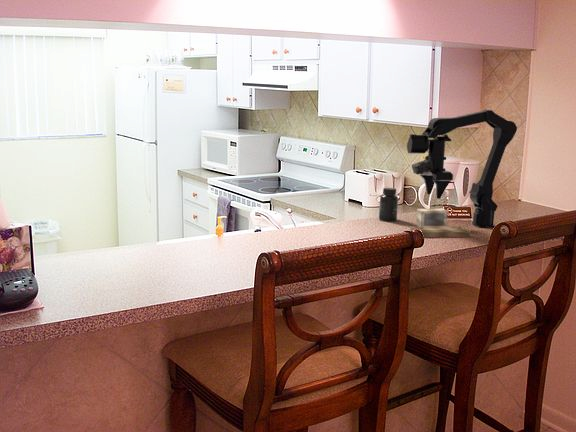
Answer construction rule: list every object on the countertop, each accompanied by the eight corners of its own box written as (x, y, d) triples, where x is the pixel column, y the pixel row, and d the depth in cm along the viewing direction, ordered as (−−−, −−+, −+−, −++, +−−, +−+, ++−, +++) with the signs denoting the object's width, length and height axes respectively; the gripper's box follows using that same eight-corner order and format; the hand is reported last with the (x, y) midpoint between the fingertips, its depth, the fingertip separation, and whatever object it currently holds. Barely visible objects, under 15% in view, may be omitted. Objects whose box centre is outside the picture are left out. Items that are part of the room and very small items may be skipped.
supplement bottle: (398, 221, 253) (400, 190, 251) (379, 221, 253) (381, 189, 251) (395, 218, 260) (397, 187, 258) (377, 217, 260) (379, 186, 258)
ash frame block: (441, 224, 252) (442, 208, 250) (446, 227, 247) (447, 211, 246) (416, 224, 250) (417, 208, 249) (420, 227, 245) (421, 211, 244)
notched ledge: (458, 230, 242) (458, 223, 241) (470, 236, 232) (470, 229, 232) (410, 230, 239) (410, 223, 238) (420, 237, 229) (420, 230, 229)
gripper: (406, 150, 251) (403, 192, 254) (424, 156, 233) (421, 201, 236) (434, 150, 253) (431, 192, 256) (455, 156, 235) (451, 200, 238)
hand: (433, 196), depth 246 cm, fingers open, 9 cm apart
